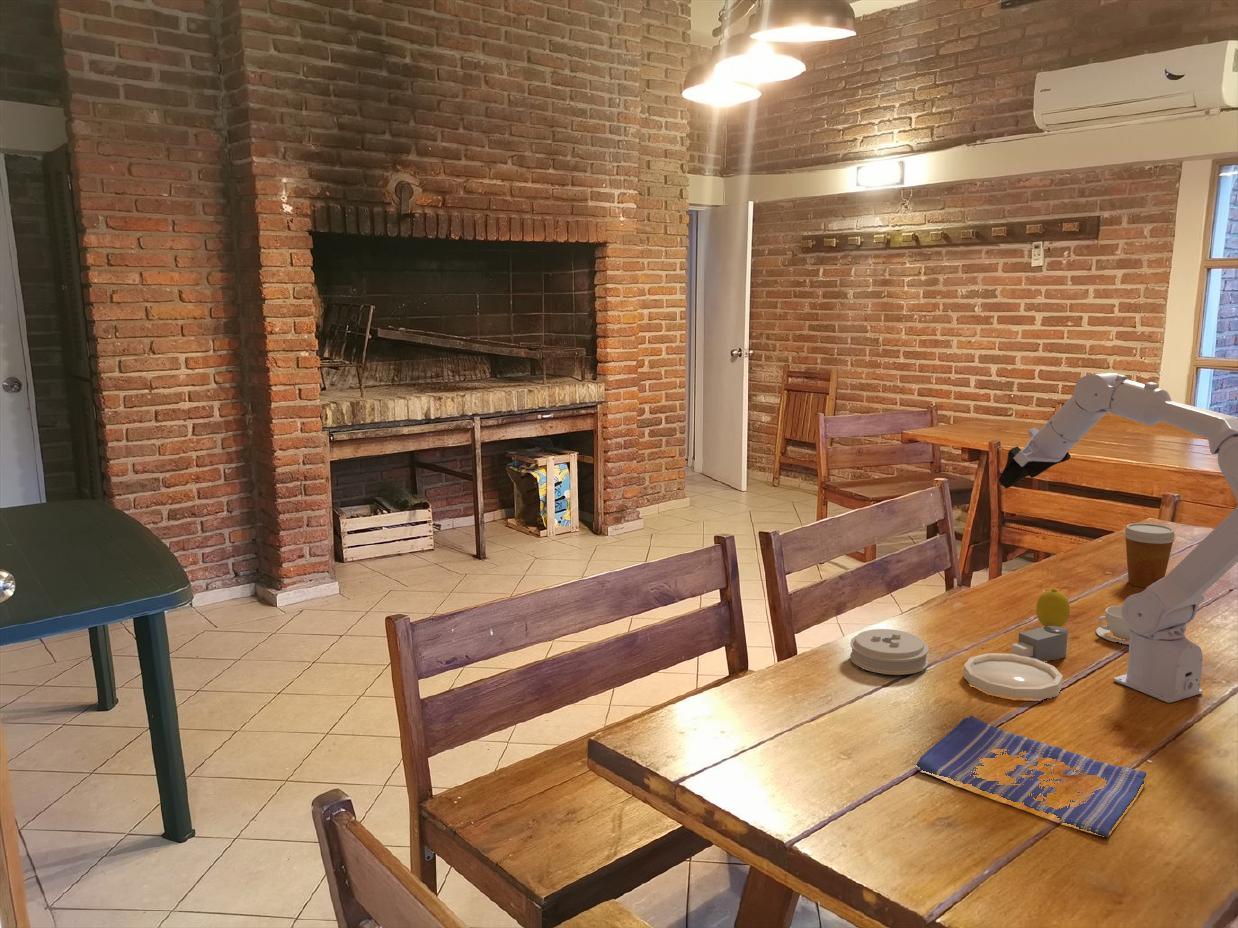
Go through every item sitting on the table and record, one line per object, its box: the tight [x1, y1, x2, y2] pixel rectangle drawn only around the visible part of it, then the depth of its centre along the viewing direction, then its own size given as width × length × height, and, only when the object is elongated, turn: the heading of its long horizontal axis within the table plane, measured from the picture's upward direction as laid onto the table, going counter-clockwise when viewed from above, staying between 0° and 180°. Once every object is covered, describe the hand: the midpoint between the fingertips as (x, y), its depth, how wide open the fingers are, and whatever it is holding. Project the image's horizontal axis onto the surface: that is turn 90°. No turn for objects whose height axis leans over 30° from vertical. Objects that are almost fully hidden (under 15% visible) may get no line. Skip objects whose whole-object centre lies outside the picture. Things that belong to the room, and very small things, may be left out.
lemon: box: [1035, 588, 1071, 628], centre depth 167 cm, size 6×6×8 cm
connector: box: [1011, 626, 1069, 662], centre depth 155 cm, size 4×10×4 cm, turn 114°
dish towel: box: [915, 715, 1148, 839], centre depth 118 cm, size 17×24×3 cm
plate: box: [963, 652, 1064, 699], centre depth 146 cm, size 14×14×2 cm
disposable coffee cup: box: [1122, 522, 1177, 589], centre depth 191 cm, size 10×10×12 cm
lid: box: [849, 628, 930, 676], centre depth 154 cm, size 13×13×5 cm
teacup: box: [1095, 605, 1130, 646], centre depth 163 cm, size 10×10×5 cm
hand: (1016, 478), depth 162 cm, fingers open, 7 cm apart
